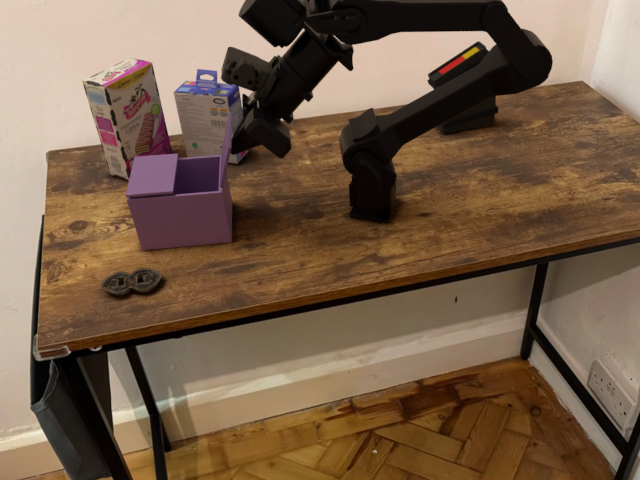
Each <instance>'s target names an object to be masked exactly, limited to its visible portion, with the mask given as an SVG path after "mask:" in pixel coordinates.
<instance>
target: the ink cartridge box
mask: <svg viewBox="0 0 640 480" xmlns="http://www.w3.org/2000/svg"><path fill="white" fill-rule="evenodd" d="M205 75H208V76H211V77H212V78H213V79H203V78H201V76H205ZM240 92H241V90H240V87H239V86H237V85H234V84H233V85H230V84H227V83H225V82H218V70H210V69H203V68H202V69H201V68H197V70H196V77H195V81H194V80H185V81H184V82H183V83H181V84H180V85H179V86H178V87H177V88H176V89H175V90H174V91H173V97H174V101H175V106H176V111H177V116H178V119H179V124H180V129H181V130H180V131H181V134H182V138H183V139H182V140H183V143H184V149H185V153H186V158H188V157H201V156H214V155H221V150H222V145H223V140H224V136H225V131H226V126H227V121H228V116H229V112H232V138H233V135H234V133H235V131H236V129H237V127H238V125H239V123H240V120H241V118H242V106H243V104H242V96H241V93H240ZM249 152H250V149H249V150H246V151H243V152H241V153H238V154H235V155H232V154H231V153H230V157H229V162H228V164H234V165H235V164H237V165H238V164H239V163H240V162H241V161H242V160H243V158H245V156H246V155H247V154H248V153H249Z"/></svg>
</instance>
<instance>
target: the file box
mask: <svg viewBox="0 0 640 480" xmlns="http://www.w3.org/2000/svg"><path fill="white" fill-rule="evenodd" d="M220 173H221V155H214V156H201V157H188V158H187V157H179V153H172V154H164V155H151V156H138V157H134V161H133V166H132V170H131V174H130V179H129V181H128V183H127V186H126V187H127V188H126V192H125V197H126V203H127V206H128V209H129V212H130V215H131V219H132V222H133V225H134V229H135V232H136V235H137V237H138V241H139V245H140V247H141V251H151V250H160V249H171V248H172V249H173V248H182V247H183V248H184V247H193V246H195V247H196V246H204V245H205V246H206V245H215V244H226V243H232V241H233V199H232V193H231V188H230V184H229V177H228V173H227V171H226V175H225V180H224V185H223V188H220Z"/></svg>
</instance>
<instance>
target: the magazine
mask: <svg viewBox="0 0 640 480" xmlns="http://www.w3.org/2000/svg"><path fill="white" fill-rule="evenodd" d="M489 51H490V50H489V49H487V46H486V45H485V44H484V43H482V42H481V41H476V42H474V43H473V44H471V45H470V46H468V47H467V48H465V49H463V50H462V51H461V52H459V53H458V54H456V55H455V56H453V57H452V58H450V59H449V60H447V61H445V62H444V63H442V64H441V65H439V66H438V67H436V68H435V69H433V70H432V71H430V72H428V73H427V76H428V79H427V80H426V81H427V83H428V86H430V87H431V88H432V90H434V89H436V88H438V87H439V86H441V85H443V84H445V83H447V82H448V81H450V80H452V79H454V78H456V77H457V76H459V75H461V74H463V73H465V72H466V71H468V70H470V69H472V68H474V67H475V66H477V65H478V64H479V63H480V62H481V61H482V60H483V58H484V57H485V56H486V55H487V53H488V52H489ZM496 104H497V96H493V97H491V98H489V99H487V100H485V101H483V102H481V103H479V104H478V105H476V106H474V107H472V108H470V109H468V110H467V111H465V112H463V113H461V114H459V115H457V116H456V117H454V118H452V119H450V120H448V121H446V122H445V123H443V124H441V125H439V126H437V129H439V131H441V133H442V134H452V133H456V132H457V133H458V132H463V131H467V130H473V129H474V130H475V129H480V128H485V127H490V126H494V125H495V121H496V120H495V119H496V114H499V107H498V105H496Z"/></svg>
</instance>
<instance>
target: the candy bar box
mask: <svg viewBox="0 0 640 480" xmlns="http://www.w3.org/2000/svg"><path fill="white" fill-rule="evenodd" d="M81 82H82V85H83V86H82V87H83V90H84V92H85V95H86V99H87V101H88V106H89V109H90V112H91V115H92V118H93V121H94V124H95V128H96V132H97V135H98V138H99V141H100V144H101V148H102V151H103V154H104V158H105V161H106V164H107V168H108V171H109V174H110V176H112V177H116V178H119V179H122V180H125V181H128V182H129V179H130V174H131V170H132V166H133V161H134V157H138V156H151V155H164V154H173V150H172V146H171V145H172V144H171V141H170V135H169V133H168V128H167V122H166V119H165V118H166V117H165V113H164V110H163V105H162V100H161V97H160V96H161V95H160V92H159V88H158V83H157V78H156V73H155V70H154V65H153V62H151V61H148V60H143V59H139V58H138V59H137V58H134V57H128V58H126V59H124V60H122V61H120V62H118V63H116V64H114V65H112V66H111V67H108V68H106V69H104V70H101V71H99V72H98V73H96V74H94V75H91V76H90V77H87V78H85V79H83V80H82V81H81Z"/></svg>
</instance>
